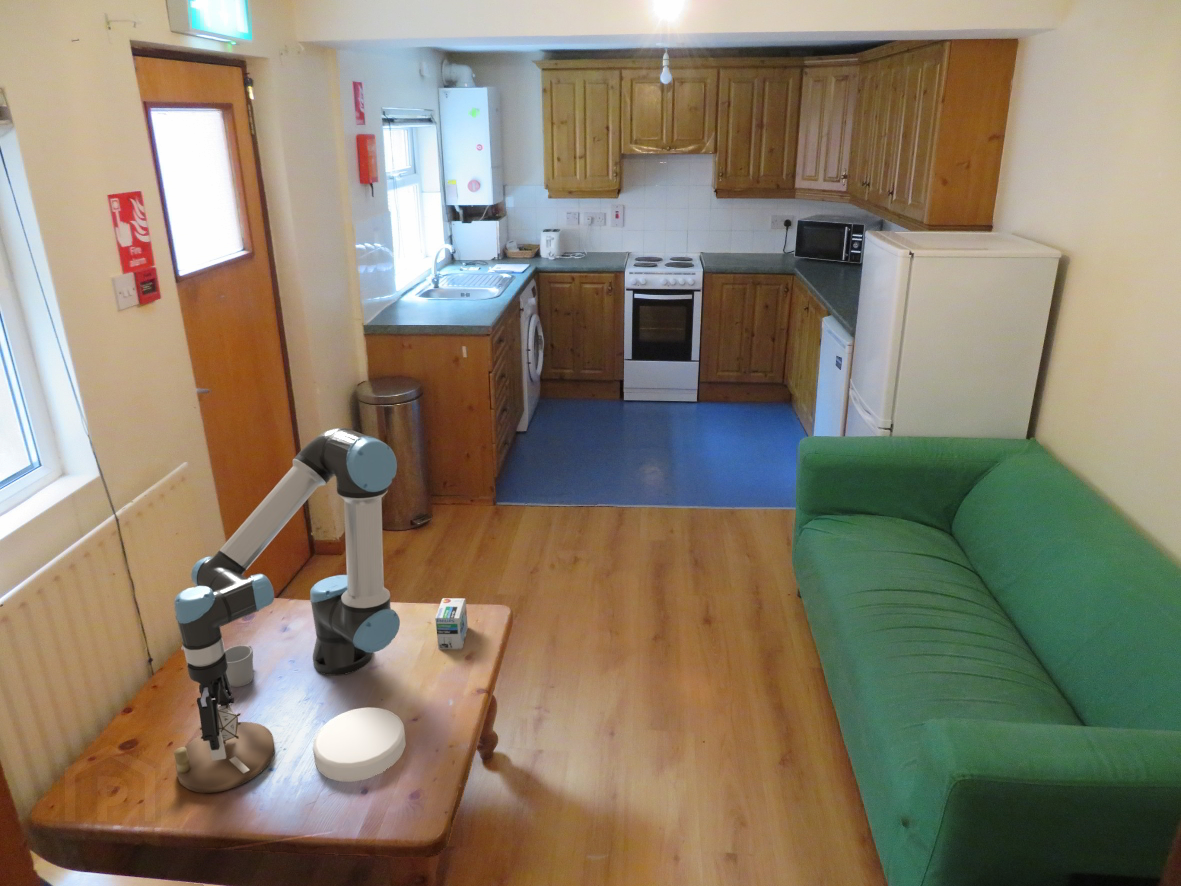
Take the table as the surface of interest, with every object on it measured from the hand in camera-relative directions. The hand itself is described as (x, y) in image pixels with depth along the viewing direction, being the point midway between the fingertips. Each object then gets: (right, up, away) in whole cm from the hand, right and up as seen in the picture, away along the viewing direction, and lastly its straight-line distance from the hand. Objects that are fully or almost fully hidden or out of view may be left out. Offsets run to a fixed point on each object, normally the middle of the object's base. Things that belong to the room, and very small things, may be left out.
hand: (224, 744), depth 180 cm
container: (+29, -3, +5) cm, 30 cm away
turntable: (0, -5, +2) cm, 5 cm away
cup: (-8, +5, +30) cm, 32 cm away
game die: (0, 0, 0) cm, 0 cm away
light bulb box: (+43, +12, +45) cm, 63 cm away
